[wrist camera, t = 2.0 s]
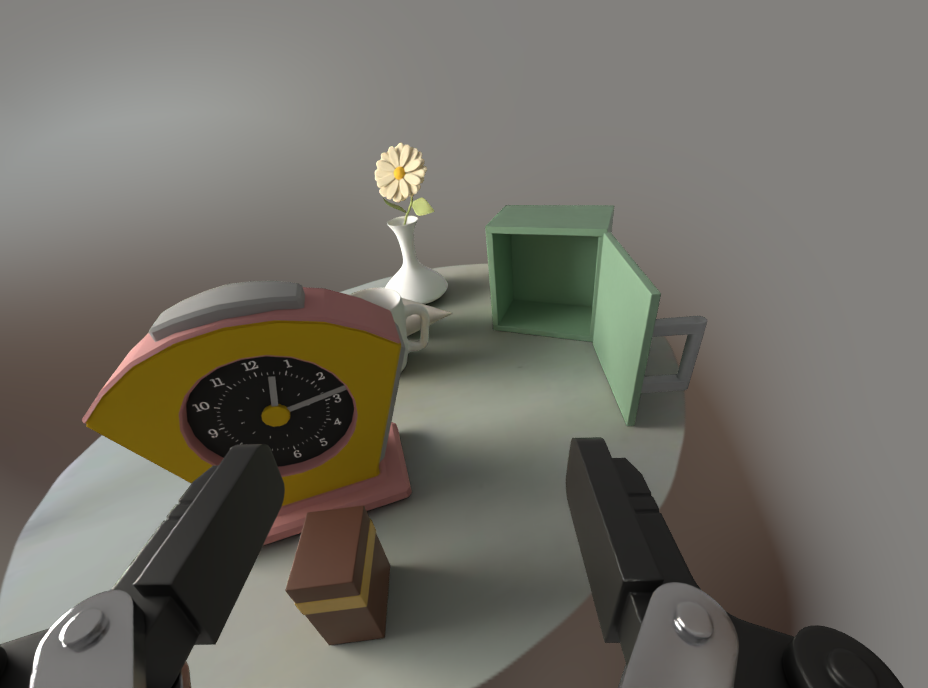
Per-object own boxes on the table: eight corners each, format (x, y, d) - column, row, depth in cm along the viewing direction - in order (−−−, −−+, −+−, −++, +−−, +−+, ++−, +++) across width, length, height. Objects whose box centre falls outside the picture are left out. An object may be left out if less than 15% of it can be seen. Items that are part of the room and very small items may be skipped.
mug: (430, 338, 59) (418, 277, 53) (442, 371, 52) (430, 305, 46) (353, 356, 57) (333, 295, 51) (355, 392, 50) (332, 327, 44)
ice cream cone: (443, 287, 53) (353, 297, 59) (443, 332, 52) (353, 338, 58) (461, 296, 58) (377, 304, 64) (461, 336, 58) (377, 341, 64)
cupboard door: (637, 341, 52) (657, 227, 43) (685, 423, 40) (727, 288, 31) (592, 344, 53) (603, 232, 44) (626, 426, 41) (651, 294, 32)
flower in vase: (373, 302, 70) (331, 150, 56) (419, 278, 77) (391, 136, 63) (423, 322, 63) (388, 152, 48) (469, 293, 69) (450, 135, 55)
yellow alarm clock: (190, 573, 33) (-15, 377, 21) (214, 484, 40) (74, 301, 28) (440, 489, 37) (392, 284, 25) (420, 422, 44) (376, 240, 32)
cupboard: (596, 342, 53) (607, 229, 44) (493, 330, 59) (485, 226, 50) (602, 310, 60) (614, 205, 51) (509, 301, 65) (505, 205, 56)
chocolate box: (385, 638, 28) (353, 582, 23) (328, 646, 27) (283, 591, 23) (391, 564, 32) (365, 503, 27) (341, 571, 32) (306, 511, 27)
